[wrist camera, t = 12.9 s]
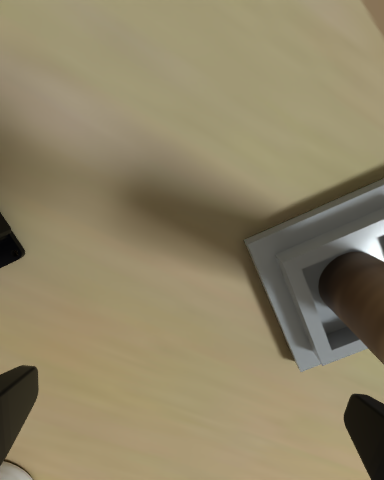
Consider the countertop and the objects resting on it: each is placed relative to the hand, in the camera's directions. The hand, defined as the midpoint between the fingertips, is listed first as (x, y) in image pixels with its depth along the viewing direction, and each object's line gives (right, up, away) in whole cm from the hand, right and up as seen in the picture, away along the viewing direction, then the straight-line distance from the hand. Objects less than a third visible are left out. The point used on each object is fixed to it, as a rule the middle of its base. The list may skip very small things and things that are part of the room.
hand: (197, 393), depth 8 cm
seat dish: (+12, +2, +13) cm, 18 cm away
